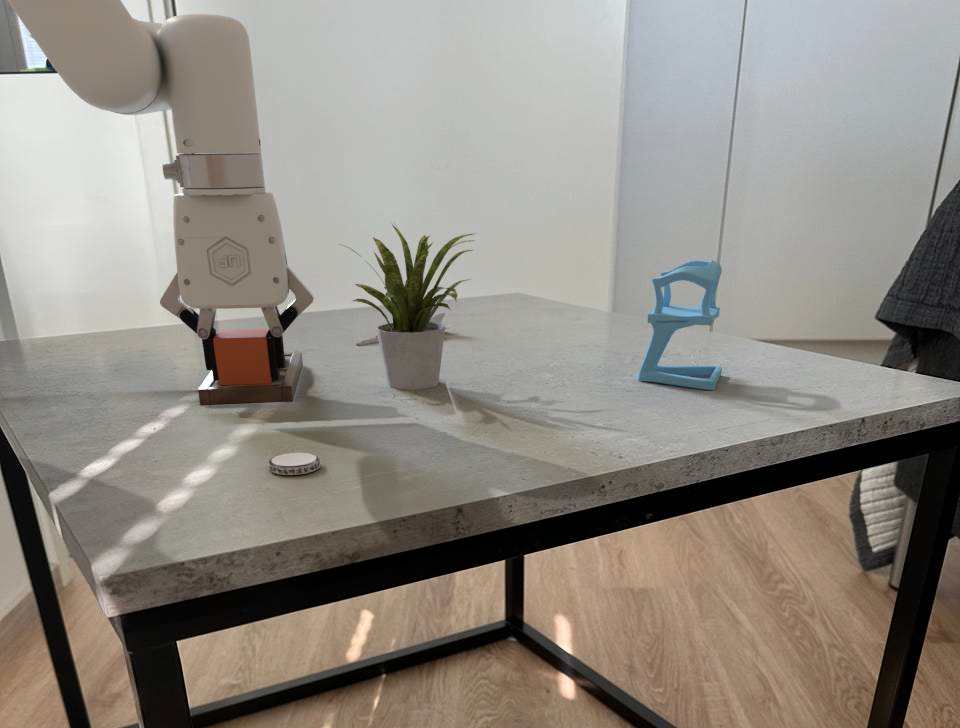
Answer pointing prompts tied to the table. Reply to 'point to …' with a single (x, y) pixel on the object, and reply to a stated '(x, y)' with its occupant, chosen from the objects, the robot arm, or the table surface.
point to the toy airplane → (436, 319)
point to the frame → (254, 388)
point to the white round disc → (294, 463)
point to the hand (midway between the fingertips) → (247, 374)
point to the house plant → (411, 315)
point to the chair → (681, 325)
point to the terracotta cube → (242, 356)
